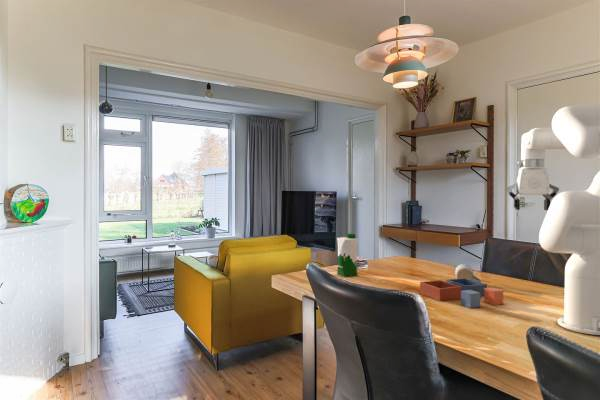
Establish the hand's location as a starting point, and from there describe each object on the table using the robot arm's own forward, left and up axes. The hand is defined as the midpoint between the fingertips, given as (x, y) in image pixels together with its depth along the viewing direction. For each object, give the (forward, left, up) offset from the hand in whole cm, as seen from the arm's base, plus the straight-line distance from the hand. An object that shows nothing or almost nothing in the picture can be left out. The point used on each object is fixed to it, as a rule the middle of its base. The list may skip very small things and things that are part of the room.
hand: (531, 209), depth 138 cm
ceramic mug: (+29, +2, -34) cm, 45 cm away
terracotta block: (+1, +18, -34) cm, 38 cm away
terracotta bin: (+15, +30, -34) cm, 48 cm away
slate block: (+1, +29, -34) cm, 45 cm away
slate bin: (+15, +17, -34) cm, 41 cm away
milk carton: (+60, +47, -34) cm, 83 cm away
